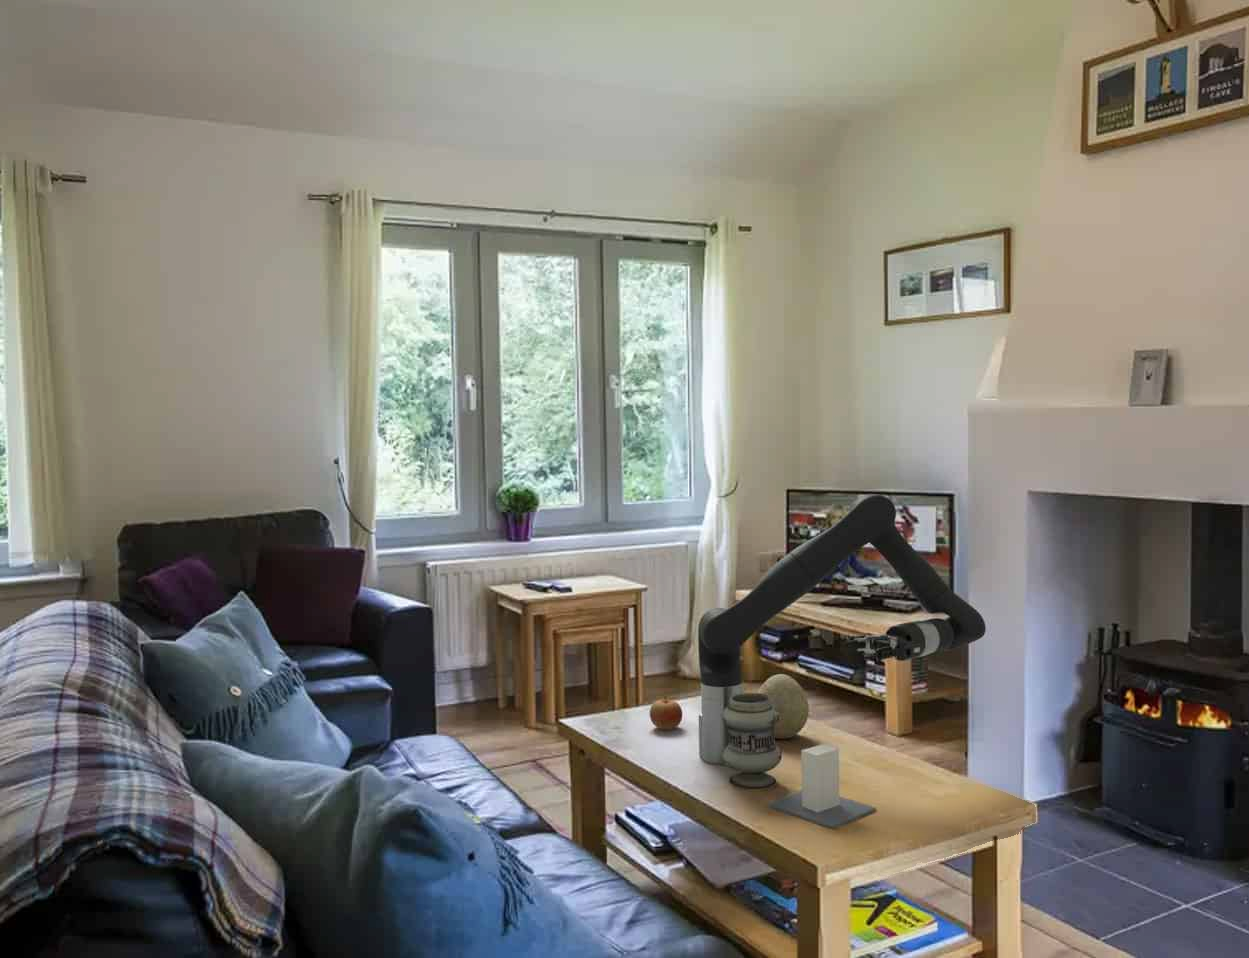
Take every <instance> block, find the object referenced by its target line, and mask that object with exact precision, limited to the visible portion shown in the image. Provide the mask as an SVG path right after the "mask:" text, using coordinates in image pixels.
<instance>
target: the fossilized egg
mask: <svg viewBox="0 0 1249 958" xmlns="http://www.w3.org/2000/svg"><path fill="white" fill-rule="evenodd" d="M757 693H762V694H766V695H768V696H770V699H771V703H772V706H774V707H775V708H776V709H777V710H778V712H779V721H778V722H777V724H776V725H774V738H775V739H780V740H781V739H789V738H792V737H794V736H796V735H798V734H799V733H800V732H801V731H802V730H803V728H804V727H805V726H806V723H807V720H808V718H809V713H810V706H809V702H808V701H809V700H808V698H807V696H806V692H805V691H804V689H803V688H802V687H801V685H800V684H799V683H798V682H797V681H796V680H795V679H794V678H793V677H791V676H790V675H787V674H784V673H779V674H778V673H777V674H775V675H772V676H770V677H769V678H767V679H766V680H765V682H763V684H762V685H761V686H760V688H759V689H758V691H757Z"/></svg>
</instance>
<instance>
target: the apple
mask: <svg viewBox="0 0 1249 958" xmlns="http://www.w3.org/2000/svg"><path fill="white" fill-rule="evenodd" d="M663 697H664V699H663V698H662V699H659V700H655V701H654V702H653V703H652V704H651V705H650V709H649V717H650V721H651V723H652V724H653V726H654V727H656V728H658V729H661V730H673V729H675V728H677V727H678V726H679V725H680V724H681V722H682V719H683V710H682V707H681V706H680V704H679V703H678V702H677V701H675V700H671V699H668V698H667V696H666V695H664V696H663Z"/></svg>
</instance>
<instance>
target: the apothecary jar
mask: <svg viewBox="0 0 1249 958" xmlns="http://www.w3.org/2000/svg"><path fill="white" fill-rule="evenodd" d="M729 702H730V703H729V706H728V707H726V708H725V710H724V711H723V713H722V719H723V721H724V723H725V724H726V725H727V726H728V741H729V742H728V746H727V747H726V748H725V750H724V752H723V759H724V761H725V763H726V764H725V765H726V766H727V767H729V768H730V769H731V770H734V771H736V772H737V773H735V774H733V775H731V777H730V778H729V779H728V783H729V785H731V786H732V787H733V788H735V789H737V790H738V789H739V790H741V791H742V790H743V791H750V792H752V791H753V792H760V791H766V790H770V789H772V788H774V787H775V786H776V785H777V780H776V778H775V777H774V776H773V775H770V774H768V773H767V772H769V771H771V770H773V769H774V768H776V767H777V766H778V765H779V764H780V763H781V761H782V757H783V756H782V751H781V750H780V748H779V747H778V746H777V745H776V741H775V740H776V738H775V737H774V725H776V724H777V722H778V721H779V712H778V710H777V709H776V708H775V707H774V706H772V703H771V699H770V696H768V695H766V694H762V693H758V692H743V693H740V694H736V695H733V696H731V697H730V701H729Z"/></svg>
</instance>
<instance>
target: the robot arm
mask: <svg viewBox="0 0 1249 958" xmlns="http://www.w3.org/2000/svg"><path fill="white" fill-rule="evenodd" d="M895 506H896V505H895V504H894V503H893V501H892V500H891V499H890V498H888V497H887V496H884V495H882V494H878V493H877V494H876V493H871V494H865V495H864V496H860V497H858V498H857V499H856V500H854V501H853V502H852V504H851V505H850V508H849V510H848V512H847V513H846V514H845V515H844V516H842V518H840V520H838V521H837V522H836V523H835V524H834V525H832V526H831V527H830V528H828V529H826V530H825V531H823V532H821V533H820V534H818V535H816V536H813V537H812V538H810V539H809V540H808V539H807V541H805V542H803V543H802V544H800V545H799V546H797V547H796V548H794V549H793V550H791V551H790V552H788V554H786V555H785V556H783V557H782V558H780V560H778V561H777V562H776V563H774V564H773V565H772V566H771V567H770V568H769V569H768V570H767V572H766V573H764V574H763V576H762V578H760V579H759V581H758V583H756V585H755V586H754V587H753V588H752V589H751V590H750V591H749V592H748V594H747V595H745V596H744V597H742V598H741V599H740V600H738V601H737V602H735V604H733V605H731V606H730V607H728V608H722V607H714V608H711V609H709V610H707V611H706V612H705V613H704V614H703V615H702V616H701V618H700V620H699V623H698V629H697V633H698V634H697V637H698V638H697V639H698V640H697V641H698V643H697V644H698V664H699V665H698V666H699V670H700V671H699V672H700V689H701V691H700V693H701V694H700V695H701V713H699V714H698V751H699V753H698V754H699V755H698V756H699V758H702V759H703V761H704V762H707V763H710V764H715V765H727V764H726V763H725V761H724V759H723V752H724V750H725V748H726V747H727V746H728V742H729V741H728V726H727V725H726V724H725V723H724V721H723V719H722V713H723V711H724V710H725V708H726V707H728V706H729V703H730V702H729V701H730V697H731V696H733V695H736V694H740V693H744V685H743V683H744V681H743V680H744V678H743V677H744V676H743V668H742V663H741V653H740V650H741V649H740V647H742V645H744V644H745V642H747V641H748V640H749V638H750V639H751V637H752V636H753V635H754V634H756V632H758V630H759V629H760V628H761V627H763V626H764V625H765V624H766V623H767V622H768V621H770V620H771V619H773V617H775V616H777V615H778V614H779V613H782V612H783V611H784V610H785V609H787V608H788V607H790V606H791V605H792V604H794V603H795V602H796V601H798V600H799V599H800V598H802V597H803V596H805V595H806V594H807V593H809V592H810V591H811V590H813V589H814V588H815V587H816V586H818V585H819V584H820V583H821V582H823V580H825V579H826V578H827V577H828V576H829V575H830V574H832V573H833V572H834V571H835V570H836V569H837V568H838V567H839V566H841V564H842V563H844V561H846V560H847V559H848V558H849V557H850V556H851V555H852V554H854V553H855V552H857V551H858V550H860V549H861V548H863V547H864V546H866V545H867V544H870V545H871V546H873V547H874V548H875V549H876V550H877V551H878V552H879V554H880V555H881V556H882V557H883V558H884V559H885V560H886V562H888V564H889V565H890V567H892V569H893V570H894V572H895V573H897V575H898V577H900V579H901V581H903V583H904V585H906V587H907V589H908V590H909V591H910V593H911V594H912V595H913V596H914V597H915V598H916V600H917V601H918V602H919V603H920V605H921V606H922V608H923V609H924V610H925V611H926V612H927V613H929V614H930V615H931V614H932V615H934V614H941V613H942V614H946V616H948V617H946V618H940V617H938V618H937V617H935V618H928V619H924V620H914V621H908V622H903V623H898V624H894V625H892V626H889V628H888V629H887V630H886V632H885V633H879V634H877V635H874V634H872V633H870V632H868V633H864V634H863V633H862V634H858V635H852V636H849V640H848V641H844V642H843V643H842V652H843V653H844V654H850V653H854V652H861V651H862V652H863V651H864V652H865V653H867V654H874V659H875V660H877V661H882V660H887V659H892V660H897V661H901V662H902V661H903V662H905V661H908V660H913V659H916V658H921V657H925V656H927V655H930V654H933V653H937V652H941V651H947V652H949V651H950V652H951V651H954V650H958V649H960V648H963V647H965V646H967V645H969V644H971V643H974V642H976V641H978V640H980V639H981V638H983V637H984V636H985V634H986V630H987V629H986V623H985V620H984V617H983V616H982V615H981V613H980V612H979V611H978V610H977V609H975V608H974V607H973V606H972V605H971V604H969V603H968V602H966V600H964V599H963V598H962V597H960V596H959V595H957V594H956V593H955V592H953V590H951V589H950V587H949V586H948V585H947V584H946V582H945V581H944V579H942V576H940V574H939V573H938V572H937V571H936V570H935V568H934V567H932V565H931V564H930V563H929V562H928V561H927V560H926V559H925V558H924V557H922V556H921V554H919V553H918V552H917V550H915V549H914V547H912V546H911V544H909V542H908V541H907V540H906V538H904V536H903V535H902V533H901V532H900V530H898V527H897V526H896V524H895V522H896V517H897V511H896V507H895ZM871 646H872V648H873V649H872V648H871Z"/></svg>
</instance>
